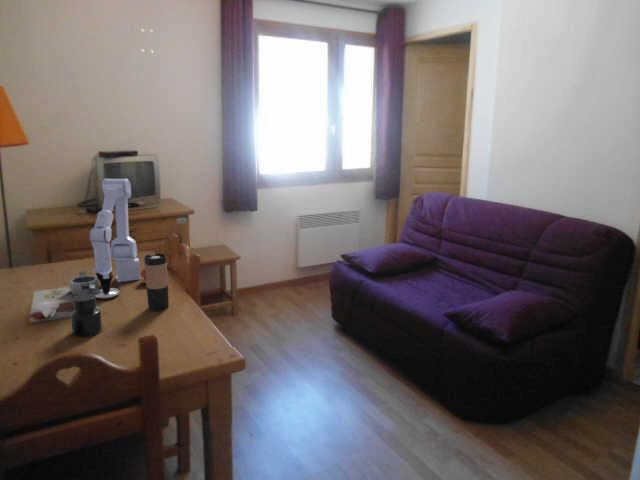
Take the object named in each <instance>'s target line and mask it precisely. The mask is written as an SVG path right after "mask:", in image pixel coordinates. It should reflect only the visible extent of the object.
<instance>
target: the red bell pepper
mask: <svg viewBox="0 0 640 480" xmlns="http://www.w3.org/2000/svg"><path fill="white" fill-rule="evenodd" d="M140 275H141V278H143V280H142V281H141V282H139V283H140V284H143V283H144V282H146V274H145V267H144V268H143V269H142V271H140Z"/></svg>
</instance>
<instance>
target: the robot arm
mask: <svg viewBox="0 0 640 480" xmlns="http://www.w3.org/2000/svg"><path fill="white" fill-rule="evenodd" d="M101 187H102V188H101V189H102V192H103V195H104V198H103V204H102V210H100V211H99V212H97V216H96V220H95V224H94V227H93V228H91V229H90V231H89V240H90V242H91V247H92V248H93V253H94V262H95V263H94V264H95V268H93V269H92V273H95V275H96V277H97V278H98V282H99V283H100V286H101V289H102V290H103V292H104V293H107V292H109V291H110V288H111V283H112V280H113V278H114V274H113V273H112V272H113V267H112V265H113V264H112V259H113V260H114V261H115V265H116V266H115V267H116V275H115V279H116V282H117V283H123V282H131V281H136V280H137V281H140V280H142V276H141V264H140V260H139V258H138V257H137V256H138V247H137V241H136V240H135V239H133V238H132V237H131V236H130V228H129V227H130V226H129V224H130V223H129V206H128V205H129V201H128V199H129V198H130V199H131V197H132V184H131V182H130V179H128V178H106V177H105V178H104V179H103V180H102V183H101ZM114 208H115V226H116V227H115V228H116V237H115V238H114V239H113V240H112V235H113V234H112V232H113V231H112V228H111V227H112V224H113V220H114V214H113V211H114ZM110 242H111V243H110Z"/></svg>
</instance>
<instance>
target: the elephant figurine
mask: <svg viewBox="0 0 640 480" xmlns="http://www.w3.org/2000/svg"><path fill="white" fill-rule="evenodd" d="M59 307H60V303H59V301H58V300H57V299H55V300H51V301H44V302H43V303H42V302H41V301H38V304H37V310H39V311H41V312H42V313H41V314H42V315H43V316H44V317H45V318H49V316H50V317H51V318H52V317H55V314H56V311H57V310H58V309H59Z"/></svg>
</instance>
